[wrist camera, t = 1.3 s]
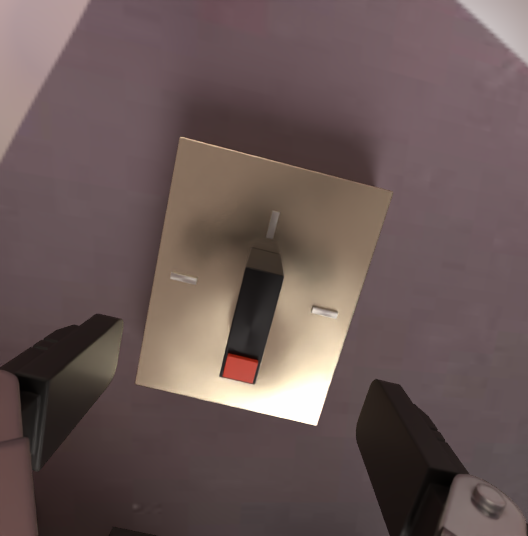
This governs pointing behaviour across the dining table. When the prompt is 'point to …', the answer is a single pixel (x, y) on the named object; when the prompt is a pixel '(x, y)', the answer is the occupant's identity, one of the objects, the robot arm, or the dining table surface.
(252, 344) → the red-tipped black block
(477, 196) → the dining table surface
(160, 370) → the lever switch base
